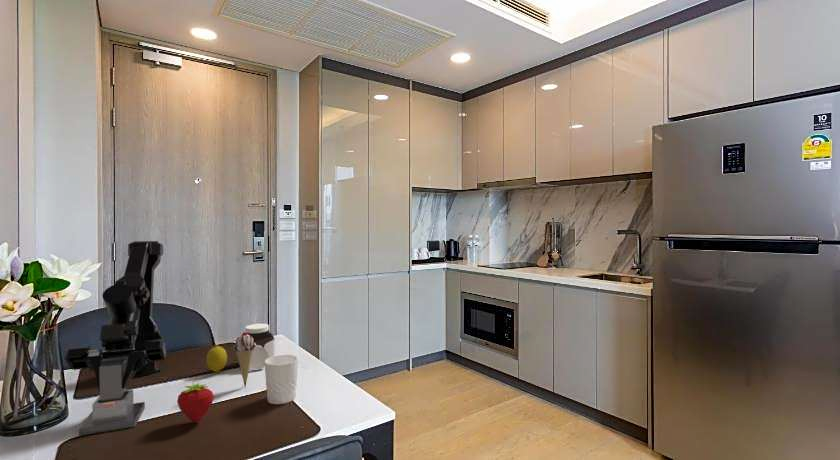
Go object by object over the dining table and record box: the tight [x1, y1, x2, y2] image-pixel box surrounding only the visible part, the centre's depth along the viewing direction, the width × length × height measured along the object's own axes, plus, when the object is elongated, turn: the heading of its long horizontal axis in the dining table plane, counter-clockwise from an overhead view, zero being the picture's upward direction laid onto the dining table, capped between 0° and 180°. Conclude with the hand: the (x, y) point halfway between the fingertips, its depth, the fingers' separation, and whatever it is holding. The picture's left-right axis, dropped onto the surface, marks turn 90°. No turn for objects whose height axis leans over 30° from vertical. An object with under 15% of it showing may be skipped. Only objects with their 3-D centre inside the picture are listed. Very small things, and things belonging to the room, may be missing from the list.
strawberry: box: [176, 379, 214, 424], centre depth 95 cm, size 6×8×10 cm
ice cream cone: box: [232, 331, 256, 388], centre depth 115 cm, size 6×6×15 cm
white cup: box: [264, 354, 299, 405], centre depth 108 cm, size 8×8×10 cm
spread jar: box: [244, 323, 276, 371], centre depth 133 cm, size 12×11×12 cm
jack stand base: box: [78, 389, 146, 437], centre depth 96 cm, size 10×10×6 cm
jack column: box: [99, 358, 127, 402], centre depth 96 cm, size 4×4×11 cm
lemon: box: [206, 345, 228, 374], centre depth 127 cm, size 6×6×8 cm
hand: (111, 389), depth 95 cm, fingers closed on jack column, 4 cm apart
